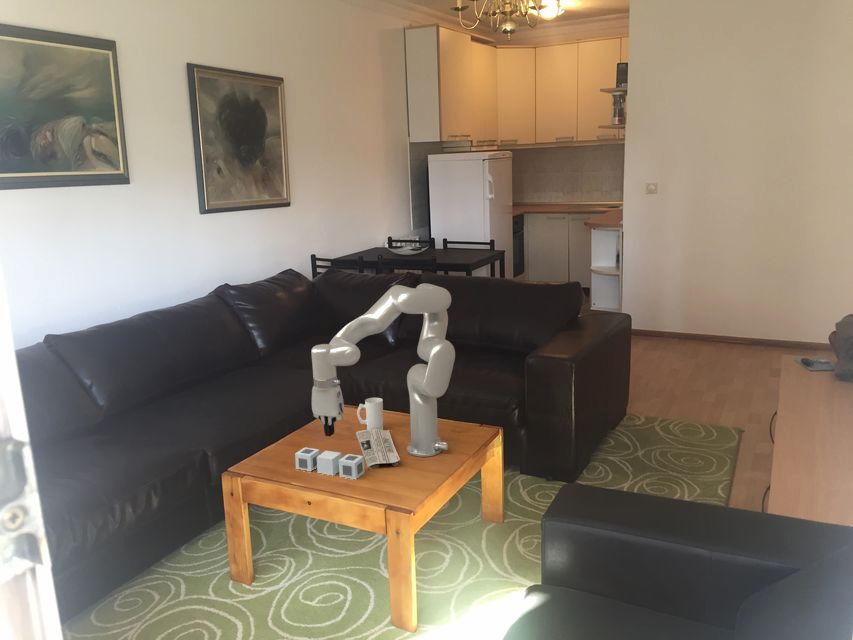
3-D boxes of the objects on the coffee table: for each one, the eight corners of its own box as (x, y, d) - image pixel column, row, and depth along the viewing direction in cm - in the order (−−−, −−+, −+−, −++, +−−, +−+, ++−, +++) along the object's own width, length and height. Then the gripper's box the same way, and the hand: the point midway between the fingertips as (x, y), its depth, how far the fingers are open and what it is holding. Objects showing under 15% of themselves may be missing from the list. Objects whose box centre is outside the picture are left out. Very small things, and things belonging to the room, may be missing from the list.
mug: (383, 426, 289) (381, 397, 287) (384, 432, 282) (383, 402, 280) (357, 428, 288) (356, 398, 285) (358, 434, 281) (357, 404, 279)
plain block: (342, 469, 249) (341, 452, 247) (333, 476, 243) (332, 459, 242) (326, 467, 251) (325, 450, 250) (317, 473, 246) (316, 457, 244)
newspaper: (356, 436, 280) (355, 427, 280) (388, 433, 283) (387, 424, 282) (368, 472, 246) (368, 462, 246) (405, 468, 249) (404, 458, 248)
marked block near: (364, 473, 245) (364, 455, 244) (355, 480, 240) (355, 462, 238) (348, 470, 248) (347, 453, 246) (339, 477, 242) (338, 460, 241)
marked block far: (321, 466, 252) (320, 449, 251) (311, 473, 246) (310, 455, 245) (305, 463, 254) (304, 446, 253) (295, 470, 249) (294, 453, 247)
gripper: (350, 380, 241) (354, 433, 245) (312, 377, 247) (316, 428, 251) (339, 387, 234) (343, 441, 238) (299, 383, 240) (304, 436, 244)
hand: (329, 434), depth 245 cm, fingers closed
